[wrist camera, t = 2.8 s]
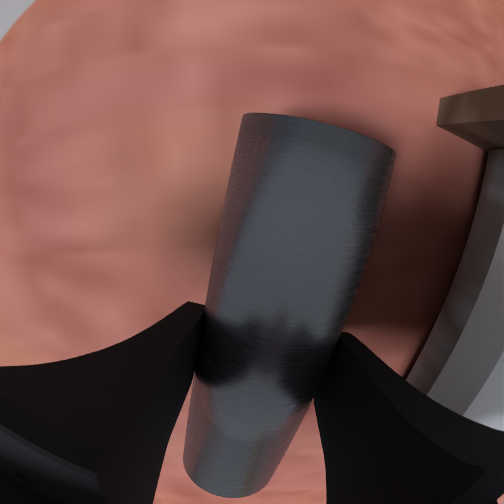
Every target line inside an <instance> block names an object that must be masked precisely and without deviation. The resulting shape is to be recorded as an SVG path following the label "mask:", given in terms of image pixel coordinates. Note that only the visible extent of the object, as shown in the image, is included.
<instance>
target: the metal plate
mask: <svg viewBox="0 0 504 504" xmlns="http://www.w3.org/2000/svg"><path fill="white" fill-rule="evenodd" d="M427 396H428V397H430V398H431V399H433V400H434V401H436V402H438V403H439V404H441V405H443V406H444V407H446V408H448V409H450V410H452V411H454V412H456V413H458V414H460V415H462V416H464V417H466V418H468V419H470V420H473V421H475V422H478V423H480V424H483V425H485V426H488V427H491V428H494V429H497V430H501V431H504V224H503V228H502V231H501V235H500V238H499V241H498V245H497V248H496V251H495V254H494V257H493V260H492V263H491V265H490V268H489V271H488V274H487V276H486V279H485V282H484V284H483V287H482V289H481V292H480V294H479V297H478V299H477V301H476V304H475V306H474V308H473V310H472V313H471V315H470V317H469V319H468V321H467V324H466V326H465V328H464V330H463V332H462V334H461V336H460V338H459V340H458V342H457V344H456V346H455V348H454V349H453V351H452V353H451V355H450V357H449V359H448V361H447V362H446V364H445V366H444V368H443V369H442V371H441V373H440V375H439V376H438V378H437V380H436V381H435V383H434V384H433V386H432V388H431V389H430V391H429V392H428V394H427Z"/></svg>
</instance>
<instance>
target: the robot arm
mask: <svg viewBox="0 0 504 504" xmlns="http://www.w3.org/2000/svg"><path fill="white" fill-rule="evenodd" d="M204 309H205V305H202V304H198V303H193V302H189V301H188V302H186V303H184V304H183V305H182V306H180V307H179V308H177V309H176V310H175V311H173V312H172V313H170V314H169V315H168V316H166V317H165V318H163V319H162V320H160V321H158V322H157V323H155V324H154V325H152V326H151V327H149V328H147V329H145V330H144V331H142V332H140V333H138V334H136V335H135V336H133V337H131V338H129V339H127V340H125V341H122V342H120V343H118V344H115V345H113V346H110V347H108V348H105V349H102V350H99V351H96V352H92V353H89V354H86V355H82V356H79V357H75V358H71V359H67V360H62V361H57V362H51V363H44V364H36V365H26V366H2V367H0V504H153V500H154V496H155V492H156V488H157V484H158V479H159V475H160V471H161V467H162V464H163V460H164V456H165V452H166V448H167V445H168V442H169V439H170V436H171V433H172V431H173V428H174V426H175V423H176V421H177V418H178V416H179V413H180V411H181V408H182V406H183V403H184V401H185V398H186V396H187V393H188V391H189V388H190V385H191V383H192V380H193V376H194V372H195V366H196V359H197V353H198V347H199V340H200V334H201V328H202V322H203V316H204ZM314 406H315V411H316V417H317V422H318V427H319V432H320V437H321V443H322V448H323V453H324V460H325V468H326V491H327V504H498V503H497V499H498V498H499V497H500V496H501V495H502V494H504V431H501V430H497V429H494V428H491V427H488V426H485V425H483V424H480V423H478V422H475V421H473V420H470V419H468V418H466V417H464V416H462V415H460V414H458V413H456V412H454V411H452V410H450V409H448V408H446V407H444V406H443V405H441V404H439V403H438V402H436V401H434V400H433V399H431V398H430V397H428V396H427V395H425V394H424V393H422V392H421V391H419V390H418V389H416V388H415V387H414V386H412V385H411V384H410V383H408V382H407V381H406V380H405V379H403V378H402V377H401V376H400V375H398V374H397V373H396V372H395V371H394V370H392V369H391V368H390V367H389V366H388V365H387V364H385V363H384V362H383V361H382V360H381V359H380V358H379V357H377V356H376V355H375V354H374V353H373V352H372V351H371V350H370V349H369V348H367V347H366V346H365V345H364V344H363V343H362V342H361V341H359V340H358V339H357V338H356V337H354V336H353V335H352V334H350V333H348V332H342V333H341V335H340V338H339V340H338V342H337V345H336V347H335V350H334V352H333V355H332V357H331V359H330V362H329V364H328V366H327V369H326V371H325V373H324V375H323V378H322V380H321V382H320V384H319V386H318V389H317V391H316V393H315V395H314Z"/></svg>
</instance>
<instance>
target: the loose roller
mask: <svg viewBox="0 0 504 504" xmlns="http://www.w3.org/2000/svg"><path fill="white" fill-rule="evenodd" d="M395 158H396V152H395V151H394V150H392V149H391V148H389V147H388V146H386V145H384V144H382V143H380V142H378V141H376V140H373V139H371V138H369V137H366V136H364V135H361V134H358V133H355V132H352V131H349V130H346V129H343V128H340V127H337V126H333V125H329V124H326V123H322V122H317V121H313V120H309V119H304V118H299V117H293V116H287V115H279V114H270V113H247V114H244V115H243V117H242V121H241V126H240V130H239V135H238V139H237V144H236V148H235V153H234V158H233V162H232V167H231V172H230V177H229V181H228V186H227V191H226V196H225V201H224V206H223V211H222V216H221V221H220V226H219V232H218V237H217V242H216V247H215V253H214V258H213V264H212V269H211V275H210V280H209V286H208V292H207V297H206V303H205V309H204V316H203V322H202V328H201V334H200V340H199V347H198V353H197V359H196V366H195V372H194V379H193V386H192V392H191V400H190V407H189V414H188V421H187V429H186V437H185V445H184V453H183V463H184V467H185V470H186V472H187V474H188V476H189V477H190V478H191V480H192V481H193V482H194V483H195V484H196V485H198V486H199V487H200V488H202V489H203V490H205V491H207V492H209V493H211V494H214V495H217V496H221V497H227V498H240V497H246V496H250V495H252V494H255V493H256V492H258V491H260V490H261V489H263V488H264V487H265V486H266V485H267V484H268V482H269V481H270V479H271V477H272V476H273V474H274V472H275V470H276V469H277V467H278V465H279V463H280V462H281V460H282V458H283V456H284V454H285V452H286V451H287V449H288V447H289V445H290V443H291V441H292V439H293V437H294V436H295V434H296V432H297V430H298V428H299V426H300V424H301V422H302V420H303V418H304V416H305V414H306V412H307V410H308V408H309V406H310V403H311V401H312V399H313V397H314V395H315V393H316V391H317V389H318V386H319V384H320V382H321V380H322V378H323V375H324V373H325V371H326V369H327V366H328V364H329V362H330V359H331V357H332V355H333V352H334V350H335V347H336V345H337V342H338V340H339V338H340V335H341V333H342V330H343V327H344V325H345V322H346V320H347V317H348V314H349V312H350V309H351V306H352V304H353V301H354V298H355V295H356V293H357V290H358V287H359V284H360V281H361V278H362V275H363V272H364V270H365V266H366V263H367V260H368V257H369V254H370V251H371V248H372V245H373V241H374V238H375V235H376V231H377V228H378V225H379V221H380V218H381V214H382V210H383V207H384V203H385V199H386V195H387V192H388V188H389V184H390V180H391V176H392V171H393V167H394V163H395Z"/></svg>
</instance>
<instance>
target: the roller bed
mask: <svg viewBox="0 0 504 504" xmlns="http://www.w3.org/2000/svg"><path fill="white" fill-rule="evenodd" d="M437 126H439V127H441V128H443V129H445V130H447V131H449V132H451V133H453V134H455V135H457V136H459V137H461V138H463V139H465V140H467V141H468V142H470V143H472V144H474V145H476V146H478V147H479V148H481V149H483V150H485V151H486V152H488V153H489V154H488V160H487V165H486V170H485V175H484V180H483V184H482V189H481V193H480V197H479V201H478V205H477V209H476V213H475V216H474V220H473V224H472V227H471V230H470V234H469V237H468V240H467V243H466V246H465V249H464V252H463V255H462V258H461V261H460V264H459V267H458V269H457V272H456V275H455V277H454V280H453V283H452V285H451V288H450V290H449V293H448V295H447V298H446V300H445V302H444V305H443V307H442V309H441V312H440V314H439V316H438V318H437V320H436V323H435V325H434V327H433V329H432V331H431V333H430V335H429V337H428V339H427V341H426V343H425V345H424V347H423V349H422V351H421V353H420V355H419V357H418V359H417V361H416V363H415V364H414V366H413V368H412V370H411V372H410V373H409V375H408V377H407V379H406V381H407V382H408V383H410V384H411V385H412V386H414V387H415V388H416V389H418V390H419V391H421V392H422V393H424V394H425V395H427V394H428V392H429V391H430V389H431V388H432V386H433V384H434V383H435V381H436V380H437V378H438V376H439V375H440V373H441V371H442V369H443V368H444V366H445V364H446V362H447V361H448V359H449V357H450V355H451V353H452V351H453V349H454V348H455V346H456V344H457V342H458V340H459V338H460V336H461V334H462V332H463V330H464V328H465V326H466V324H467V321H468V319H469V317H470V315H471V313H472V310H473V308H474V306H475V304H476V301H477V299H478V297H479V294H480V292H481V289H482V287H483V284H484V282H485V279H486V276H487V274H488V271H489V268H490V265H491V263H492V260H493V257H494V254H495V251H496V248H497V245H498V241H499V238H500V235H501V231H502V228H503V224H504V85H500V86H495V87H490V88H485V89H480V90H475V91H471V92H466V93H462V94H457V95H453V96H449V97H445V98H441V99H440V106H439V113H438V119H437Z"/></svg>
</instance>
